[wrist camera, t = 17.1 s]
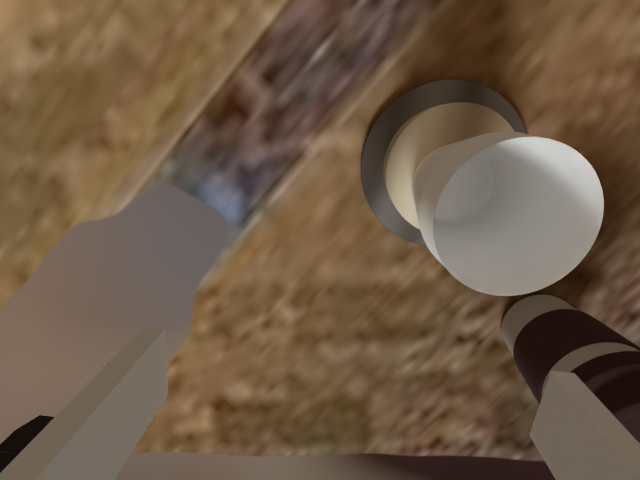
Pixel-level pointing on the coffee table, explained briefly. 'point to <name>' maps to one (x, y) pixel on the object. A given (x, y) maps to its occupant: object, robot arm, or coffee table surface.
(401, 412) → the coffee table surface
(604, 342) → the coffee cup
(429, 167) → the cup
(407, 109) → the pedestal
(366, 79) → the coffee table surface
